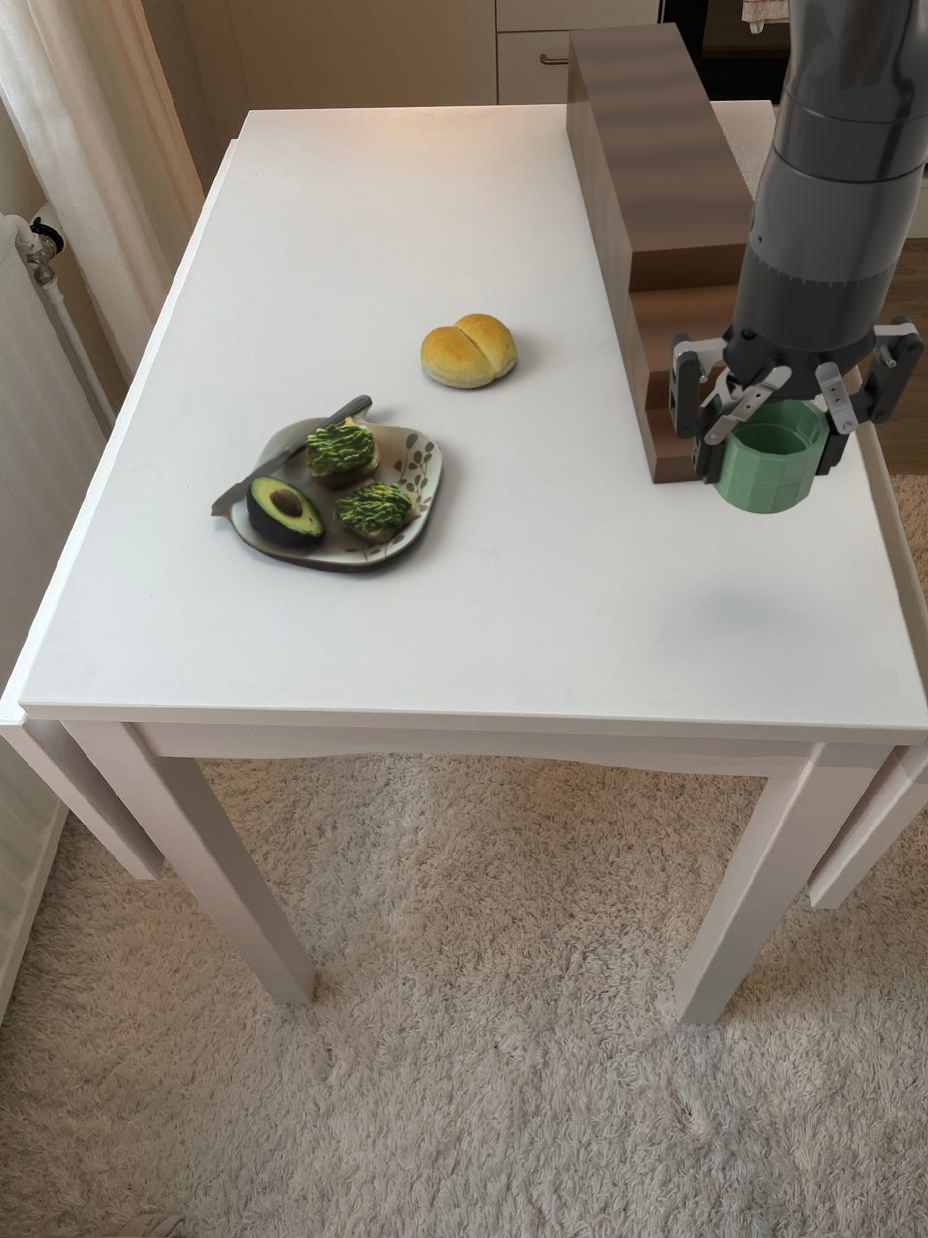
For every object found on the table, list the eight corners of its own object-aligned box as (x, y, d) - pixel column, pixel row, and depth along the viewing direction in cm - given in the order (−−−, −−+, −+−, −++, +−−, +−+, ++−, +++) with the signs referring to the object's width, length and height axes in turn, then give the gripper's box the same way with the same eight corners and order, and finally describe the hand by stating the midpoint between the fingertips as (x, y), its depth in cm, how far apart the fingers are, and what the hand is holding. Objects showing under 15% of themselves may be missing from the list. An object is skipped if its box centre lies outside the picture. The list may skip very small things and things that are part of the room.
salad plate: (287, 397, 90) (277, 357, 86) (470, 426, 86) (468, 385, 82) (199, 550, 79) (183, 512, 75) (404, 590, 75) (398, 552, 71)
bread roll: (407, 357, 92) (403, 323, 89) (486, 325, 95) (485, 290, 91) (449, 405, 88) (446, 370, 85) (531, 370, 90) (532, 335, 87)
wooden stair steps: (794, 473, 81) (828, 368, 72) (652, 483, 81) (669, 380, 72) (663, 120, 117) (675, 21, 108) (565, 127, 117) (569, 30, 108)
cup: (819, 461, 63) (839, 402, 59) (796, 529, 60) (815, 471, 56) (724, 437, 65) (737, 378, 61) (696, 502, 62) (708, 444, 58)
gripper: (698, 288, 46) (661, 522, 60) (996, 263, 46) (892, 504, 59) (670, 205, 51) (641, 440, 64) (941, 182, 51) (856, 423, 64)
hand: (762, 470), depth 62 cm, fingers closed on cup, 6 cm apart
